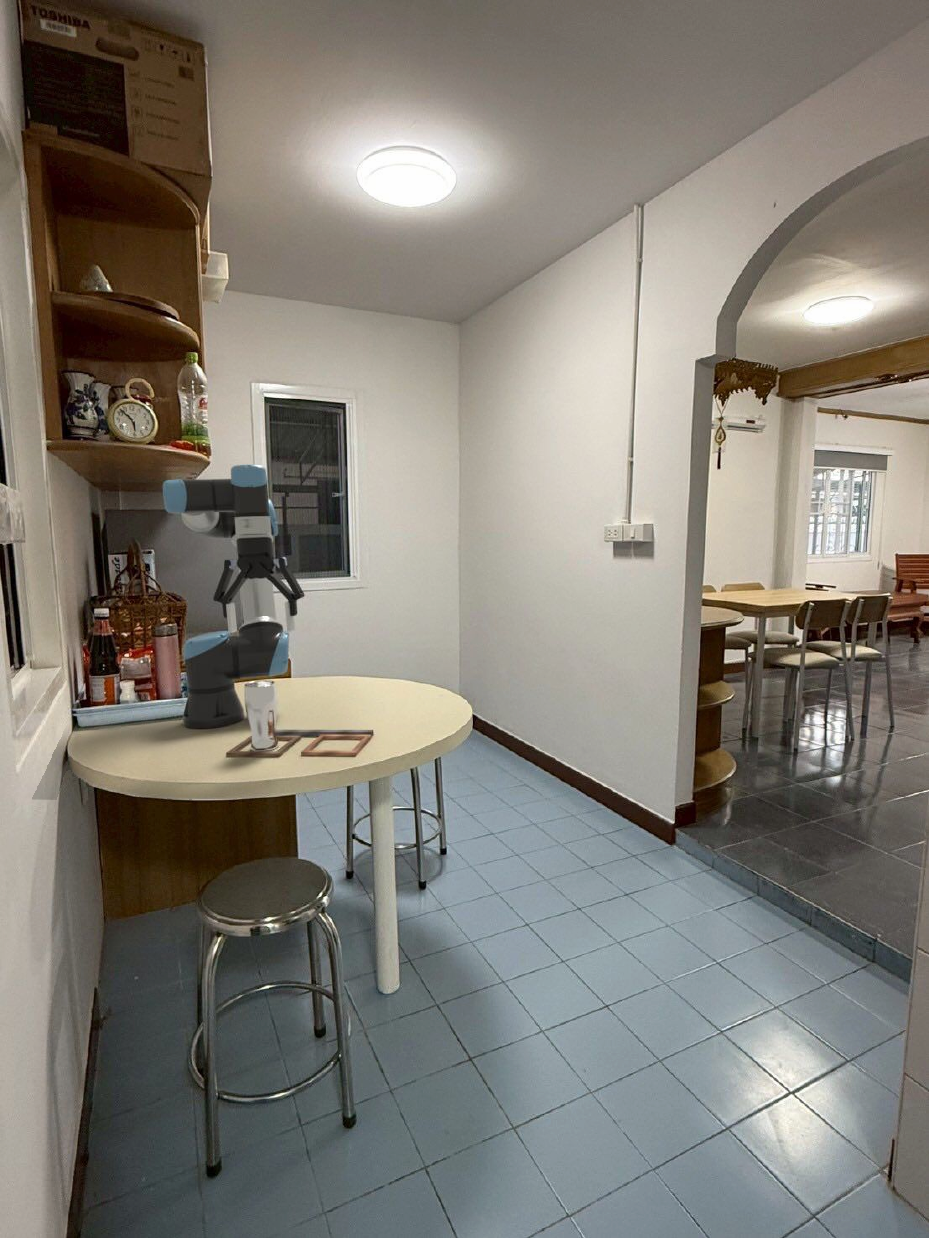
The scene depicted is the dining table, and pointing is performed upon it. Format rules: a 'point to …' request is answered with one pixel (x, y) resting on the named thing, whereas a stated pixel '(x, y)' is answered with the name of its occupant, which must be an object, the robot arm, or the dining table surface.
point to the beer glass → (262, 714)
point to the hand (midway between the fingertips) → (261, 631)
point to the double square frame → (296, 736)
